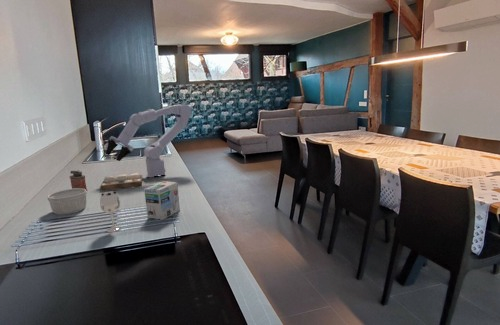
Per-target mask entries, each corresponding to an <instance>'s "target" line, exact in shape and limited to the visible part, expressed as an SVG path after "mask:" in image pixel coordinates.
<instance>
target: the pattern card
mask: <svg viewBox="0 0 500 325" xmlns="http://www.w3.org/2000/svg"><path fill="white" fill-rule="evenodd" d="M137 181H140V179H134V180H126V181H117V182H107V183H103V182H102V183H103V184H102V183H101V184H102V185H111V184H120V183H128V182H137Z"/></svg>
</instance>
